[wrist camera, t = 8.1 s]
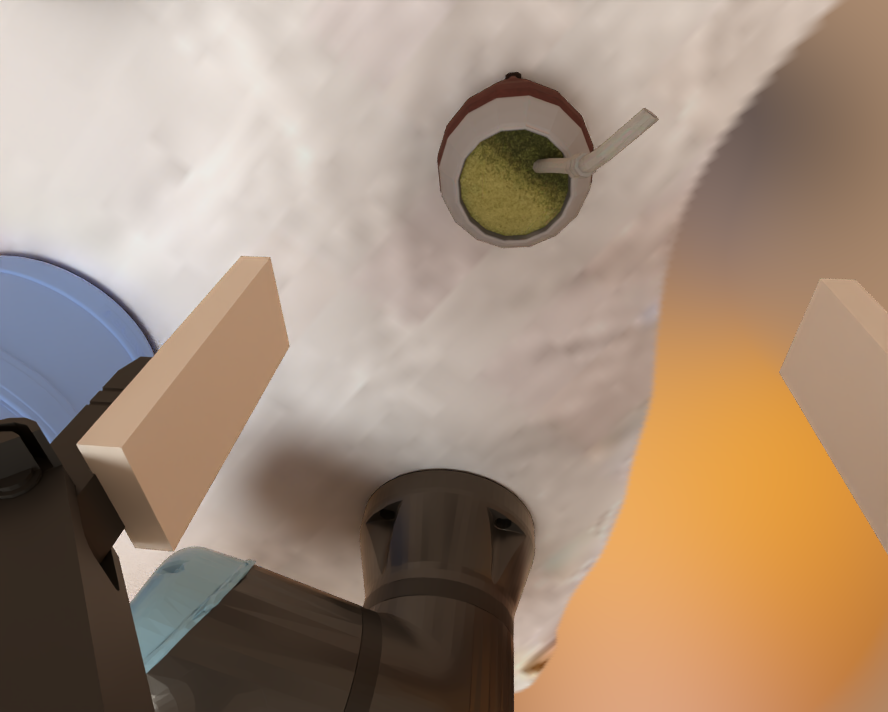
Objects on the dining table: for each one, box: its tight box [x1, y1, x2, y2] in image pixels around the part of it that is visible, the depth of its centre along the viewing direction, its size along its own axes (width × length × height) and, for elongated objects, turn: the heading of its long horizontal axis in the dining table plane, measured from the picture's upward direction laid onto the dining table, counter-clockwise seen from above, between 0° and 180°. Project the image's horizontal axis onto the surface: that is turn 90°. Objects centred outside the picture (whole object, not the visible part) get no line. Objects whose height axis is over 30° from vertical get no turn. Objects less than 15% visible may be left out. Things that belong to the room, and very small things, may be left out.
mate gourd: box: [437, 72, 659, 248], centre depth 24 cm, size 8×8×15 cm
